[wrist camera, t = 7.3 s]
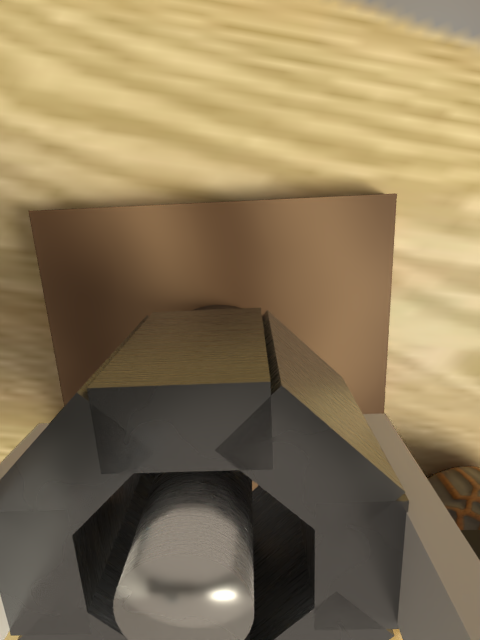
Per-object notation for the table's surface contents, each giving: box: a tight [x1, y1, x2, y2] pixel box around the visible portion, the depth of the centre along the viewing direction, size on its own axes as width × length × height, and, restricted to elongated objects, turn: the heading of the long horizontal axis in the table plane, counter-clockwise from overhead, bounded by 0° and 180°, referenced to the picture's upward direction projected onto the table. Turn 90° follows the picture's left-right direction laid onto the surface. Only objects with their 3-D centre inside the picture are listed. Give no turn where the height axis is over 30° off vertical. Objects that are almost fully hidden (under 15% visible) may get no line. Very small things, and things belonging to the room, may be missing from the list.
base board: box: [29, 194, 397, 491], centre depth 18 cm, size 14×14×1 cm
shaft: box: [113, 305, 254, 640], centre depth 12 cm, size 6×6×10 cm
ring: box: [0, 308, 409, 640], centre depth 10 cm, size 8×8×5 cm
